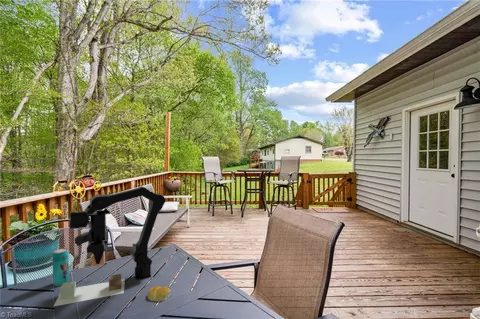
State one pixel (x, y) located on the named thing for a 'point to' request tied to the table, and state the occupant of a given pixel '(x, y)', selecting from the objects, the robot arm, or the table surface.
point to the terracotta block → (100, 261)
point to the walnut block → (115, 282)
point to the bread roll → (159, 293)
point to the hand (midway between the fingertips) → (98, 261)
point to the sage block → (68, 290)
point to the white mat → (91, 293)
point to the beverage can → (60, 267)
